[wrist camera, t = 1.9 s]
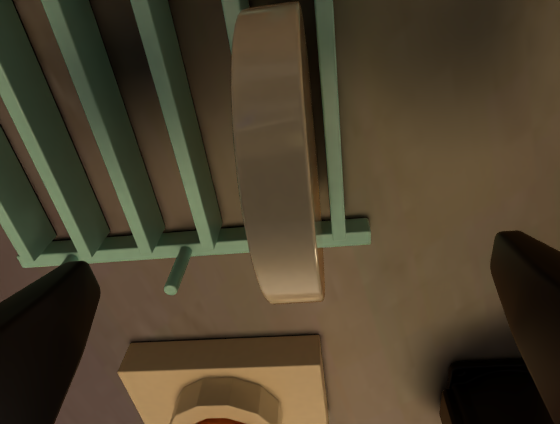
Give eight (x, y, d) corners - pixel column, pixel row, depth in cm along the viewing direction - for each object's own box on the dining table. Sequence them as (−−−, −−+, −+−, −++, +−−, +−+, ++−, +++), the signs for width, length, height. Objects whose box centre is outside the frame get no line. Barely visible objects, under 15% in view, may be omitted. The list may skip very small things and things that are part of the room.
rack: (361, -96, 14) (379, -110, 10) (368, 230, 21) (379, 285, 17) (-119, -19, 16) (-234, -9, 12) (35, 254, 23) (-12, 307, 19)
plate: (301, -15, 15) (294, 31, 7) (320, 197, 20) (329, 368, 12) (258, -9, 15) (203, 43, 7) (287, 200, 20) (273, 370, 12)
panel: (319, 334, 25) (321, 394, 22) (328, 411, 29) (330, 472, 26) (130, 342, 26) (104, 400, 23) (164, 415, 31) (147, 473, 27)
